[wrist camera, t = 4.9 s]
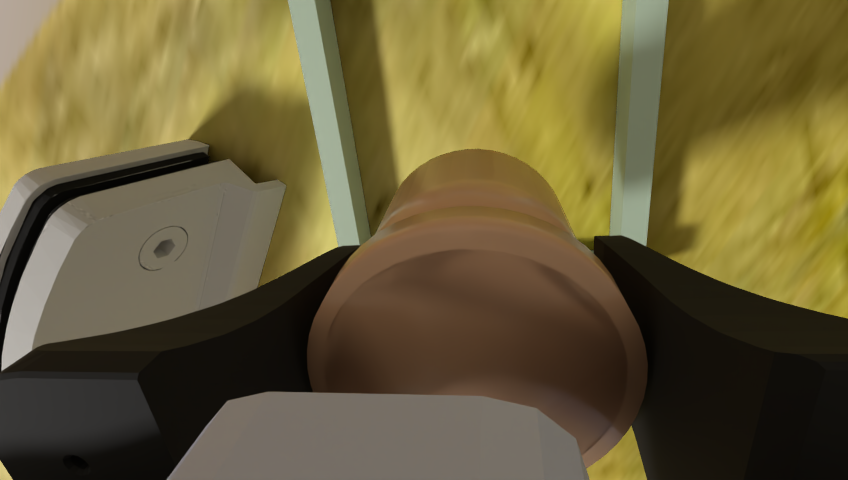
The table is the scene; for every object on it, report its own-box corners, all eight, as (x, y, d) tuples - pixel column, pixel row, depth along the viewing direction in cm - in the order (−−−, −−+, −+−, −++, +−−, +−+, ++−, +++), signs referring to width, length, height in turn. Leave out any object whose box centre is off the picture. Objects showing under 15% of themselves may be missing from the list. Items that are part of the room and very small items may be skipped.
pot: (579, 127, 12) (666, 218, 6) (573, 316, 14) (633, 498, 9) (359, 147, 12) (269, 241, 7) (390, 322, 15) (340, 491, 9)
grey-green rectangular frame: (665, -176, 14) (698, -217, 12) (630, 268, 21) (648, 298, 18) (285, -105, 17) (251, -128, 14) (358, 277, 23) (343, 304, 21)
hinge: (221, 411, 29) (33, 543, 20) (171, 367, 30) (-27, 472, 21) (288, 178, 21) (40, 224, 13) (219, 132, 23) (-51, 146, 14)
